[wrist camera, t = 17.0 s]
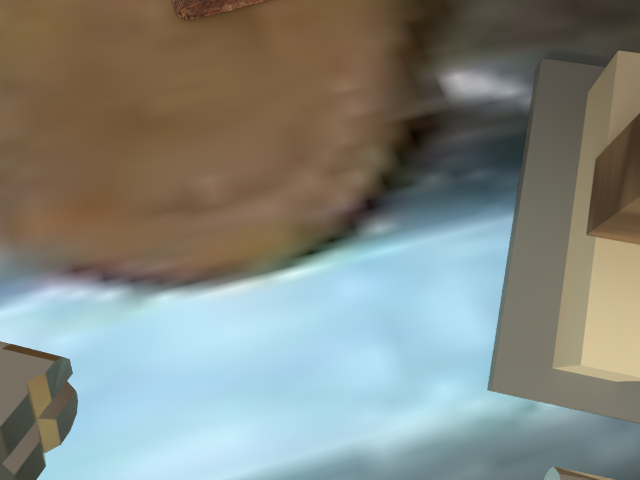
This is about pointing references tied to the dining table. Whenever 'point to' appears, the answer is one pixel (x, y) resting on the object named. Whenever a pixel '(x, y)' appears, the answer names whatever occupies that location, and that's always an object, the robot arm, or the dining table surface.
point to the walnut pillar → (617, 189)
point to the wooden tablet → (208, 7)
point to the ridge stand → (571, 252)
